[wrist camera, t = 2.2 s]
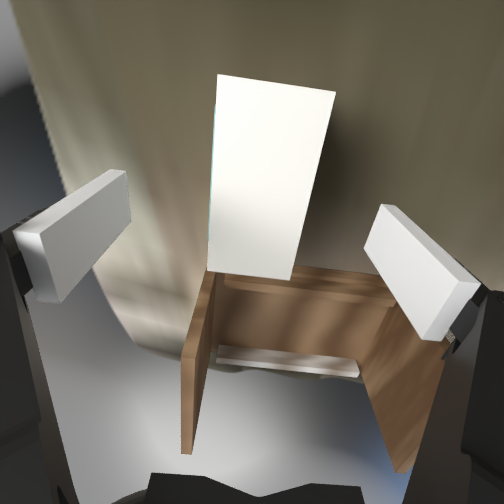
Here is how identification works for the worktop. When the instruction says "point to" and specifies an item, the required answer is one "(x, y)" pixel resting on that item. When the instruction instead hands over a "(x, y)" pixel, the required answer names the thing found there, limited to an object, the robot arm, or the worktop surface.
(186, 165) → the worktop surface
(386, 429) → the facing shelf
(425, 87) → the worktop surface
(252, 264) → the product carton
